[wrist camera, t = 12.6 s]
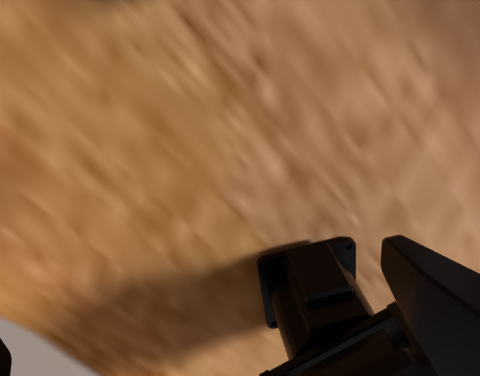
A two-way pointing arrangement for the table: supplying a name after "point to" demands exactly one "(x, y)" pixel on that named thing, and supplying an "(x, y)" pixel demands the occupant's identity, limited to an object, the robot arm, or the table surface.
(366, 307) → the robot arm
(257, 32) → the table surface
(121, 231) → the table surface
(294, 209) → the table surface
